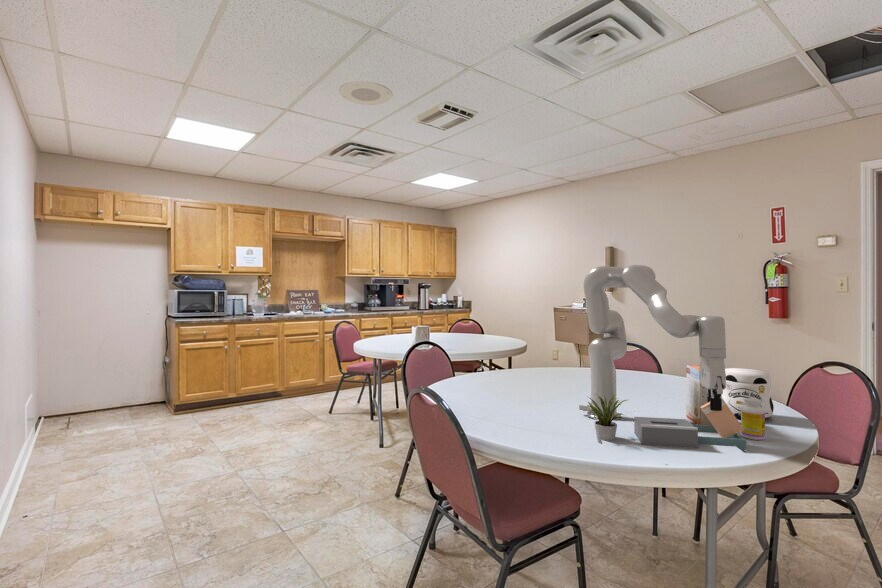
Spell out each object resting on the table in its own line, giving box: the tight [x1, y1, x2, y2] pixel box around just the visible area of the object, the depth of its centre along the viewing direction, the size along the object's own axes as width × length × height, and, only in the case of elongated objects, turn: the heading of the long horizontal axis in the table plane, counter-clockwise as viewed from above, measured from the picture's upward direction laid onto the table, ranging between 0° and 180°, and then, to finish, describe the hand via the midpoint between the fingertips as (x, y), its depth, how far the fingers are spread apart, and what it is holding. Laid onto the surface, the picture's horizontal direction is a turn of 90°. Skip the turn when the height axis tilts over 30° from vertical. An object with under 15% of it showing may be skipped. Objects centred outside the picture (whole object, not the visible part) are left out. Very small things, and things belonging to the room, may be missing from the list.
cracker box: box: [685, 364, 713, 426], centre depth 168 cm, size 14×6×21 cm, turn 168°
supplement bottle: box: [740, 398, 766, 441], centre depth 150 cm, size 7×7×13 cm
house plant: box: [586, 393, 628, 445], centre depth 146 cm, size 14×14×16 cm
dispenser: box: [633, 416, 699, 449], centre depth 143 cm, size 16×12×8 cm
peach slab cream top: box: [701, 399, 744, 438], centre depth 144 cm, size 7×2×12 cm
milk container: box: [722, 367, 775, 420], centre depth 175 cm, size 17×17×18 cm
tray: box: [690, 423, 747, 451], centre depth 145 cm, size 14×14×4 cm
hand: (714, 409), depth 145 cm, fingers closed on peach slab cream top, 1 cm apart
